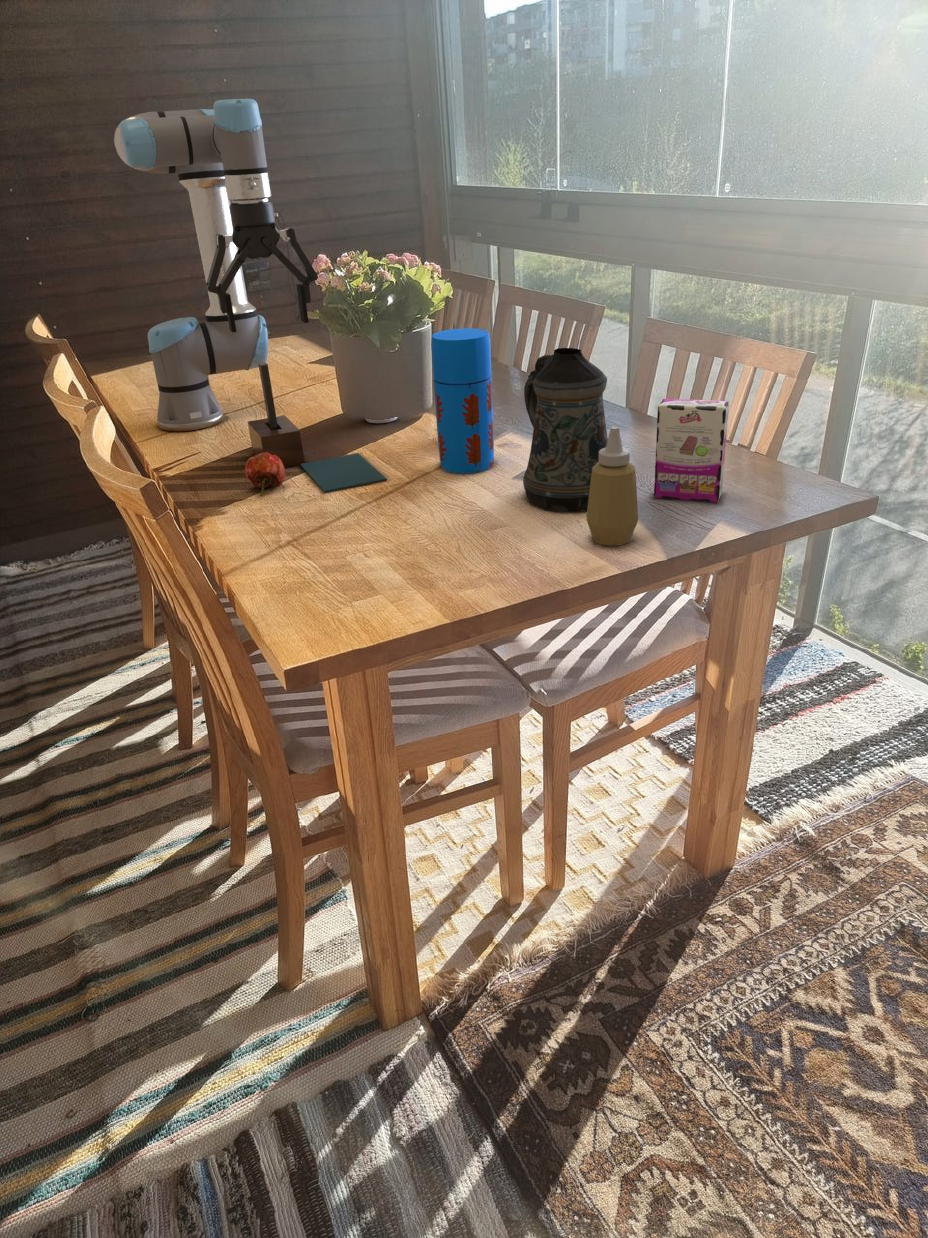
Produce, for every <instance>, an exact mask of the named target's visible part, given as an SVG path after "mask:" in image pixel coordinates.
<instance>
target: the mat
mask: <svg viewBox="0 0 928 1238" xmlns="http://www.w3.org/2000/svg"><path fill="white" fill-rule="evenodd" d="M299 466H300V468H302V470H303V471H304V472H305V473H306V475H308V476H309V478H310V479H311V480H312V481H313V482H314V484H316V485H317V487H318V488H319V489H320V490H321V491H322V493H324V494H327V493H330V492H336V491H341V490H342V491H343V490H346V489H351V488H355V487H361V486H367V485H371V484H376V483H377V484H378V483H381V482H387V481H388V479H387V477H385V475H384V474H382V473H381V472H380V471H379V470H378V469H377V468H376V467H374V466H373V465H372V464H371V463H370V462H369V461H368V460H366V459H365V458H364V457H363V456H362V455H361V454H359V452H355V453H352V454H345V455H341V456H335V457H329V458H325V459H318V460H314V461H308V462H305V463H302V464H300V465H299Z"/></svg>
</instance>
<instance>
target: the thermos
mask: <svg viewBox="0 0 928 1238" xmlns="http://www.w3.org/2000/svg"><path fill="white" fill-rule="evenodd" d="M430 343H431V344H430V347H431V349H430V350H431V362H432V363H431V364H432V376H433V377H432V378H433V390H434V391H433V392H434V405H435V419H436V420H435V421H436V433H437V434H436V435H437V447H438V455H439V456H438V457H439V462H440V468H441V469H442V470H443V471H444V472H448V473H452V474H459V475H460V474H463V475H464V474H475V473H481V472H484V471H487V470H489V469H491V468H492V467H493V466H494V462H495V461H494V460H495V434H494V409H493V385H492V383H493V382H492V359H491V356H492V355H491V339H490V334H489V331H487V330H485V329H482V328H471V327H470V328H466V327H465V328H464V327H463V328H451V329H445V330H444V329H443V330H440V331H437V332H435V333H433V334H432V335H431V341H430Z"/></svg>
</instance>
